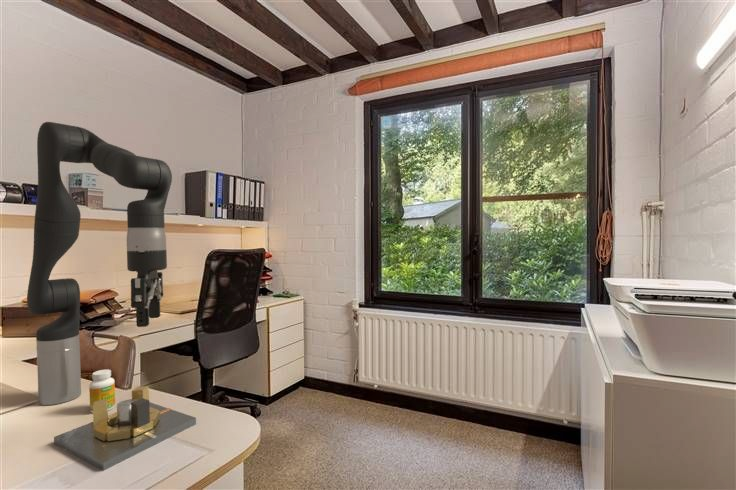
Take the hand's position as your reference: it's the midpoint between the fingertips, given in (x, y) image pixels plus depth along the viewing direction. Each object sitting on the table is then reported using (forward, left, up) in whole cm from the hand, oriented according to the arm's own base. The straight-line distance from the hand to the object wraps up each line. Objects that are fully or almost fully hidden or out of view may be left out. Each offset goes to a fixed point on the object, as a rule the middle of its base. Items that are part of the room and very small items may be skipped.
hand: (149, 321), depth 83 cm
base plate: (-6, -2, -26) cm, 26 cm away
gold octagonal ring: (-6, -2, -24) cm, 25 cm away
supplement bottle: (-25, +2, -26) cm, 36 cm away
